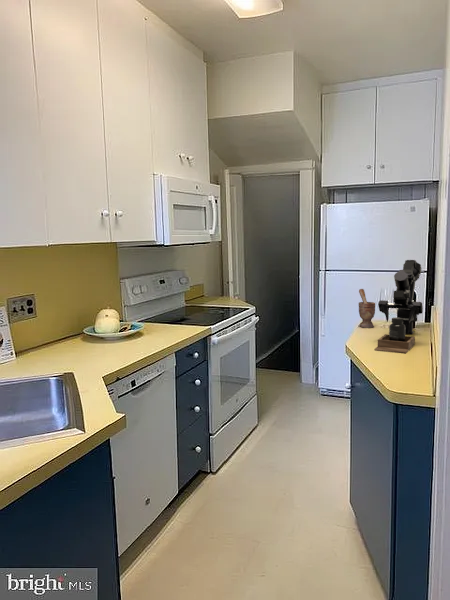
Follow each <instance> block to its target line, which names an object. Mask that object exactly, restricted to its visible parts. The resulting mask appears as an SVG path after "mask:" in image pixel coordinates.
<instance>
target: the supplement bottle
mask: <svg viewBox="0 0 450 600" xmlns="http://www.w3.org/2000/svg"><path fill="white" fill-rule="evenodd" d="M405 329H406V327H405V325H404V324H403V318H397V317H392V318H391V324H389V325H388V334H389V340H390V341H401V342H405V336H406V334H405Z"/></svg>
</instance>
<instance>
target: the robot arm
mask: <svg viewBox="0 0 450 600" xmlns="http://www.w3.org/2000/svg"><path fill="white" fill-rule="evenodd" d="M402 265H403V266H402V269H399V271H397V272H395V273H394V275H393V278H394V284H395V287H396V290H393V300H392V301H393V303H389V301H388V300H384V299H382V300H379V301H378V303H377V306H378V309H379V311H378V312H381V314H384V316H385V319H386V320H385V321H386V323H388V322H389V318H390V317H389V315H390V312H389V311H390V309H397V310H396V318H403V324H404V325H405V327H406V329H405V335H413V334H414V333H415V332H416V331H414V330H413V329H414V323H417V322H418V316H419V315H420V314H423V310H424V307H423V302H421V301H414V293H415V288H416V281H418V280H419V279H420V275H421V274H422V266H421V264H420V263H419V262H417V260H415V259H406V260H405V261H404V263H403V264H402Z"/></svg>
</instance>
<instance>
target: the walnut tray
mask: <svg viewBox="0 0 450 600" xmlns="http://www.w3.org/2000/svg"><path fill="white" fill-rule="evenodd" d="M415 341H416V337H415V336H412V335H411V336H410V335H405V342H401V341H390V340H389V333H388V334H387V333H385V334H383V335H382V336H381V337H379V338H378V339H377V346H376V347H375V348H374V351H376V352H379V351H380V352H387V353H389V352H390V353H397V354H407V353H408V352H409V351H410V350H411V349H412V348H413V347H414V346H415V344H416V342H415Z"/></svg>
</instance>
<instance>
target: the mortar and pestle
mask: <svg viewBox="0 0 450 600" xmlns="http://www.w3.org/2000/svg"><path fill="white" fill-rule="evenodd" d="M358 293H359V295H360V298H361V300H362V301H361V302H358V313H359V317H360V318H361V319H362V320H361V322H360V324H359V327H360V328H365V329H371V328H374V327H375V325H374V323H373V322H372V319H374V316H375V314H376V302H373V301H367V298H366V293H365V289H364V288H360V289H359V290H358Z"/></svg>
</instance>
